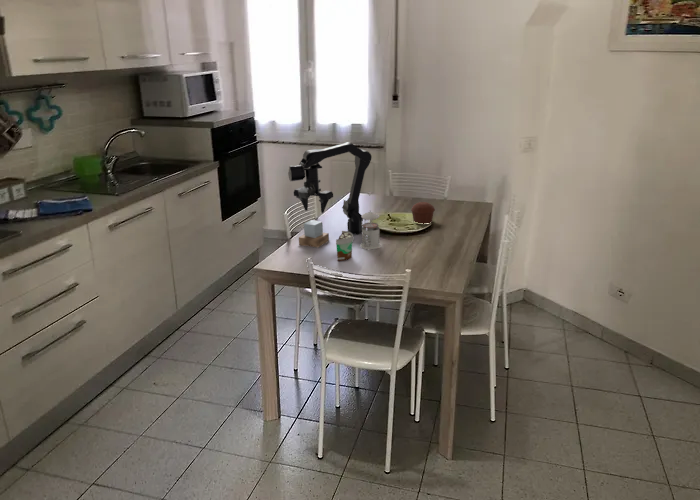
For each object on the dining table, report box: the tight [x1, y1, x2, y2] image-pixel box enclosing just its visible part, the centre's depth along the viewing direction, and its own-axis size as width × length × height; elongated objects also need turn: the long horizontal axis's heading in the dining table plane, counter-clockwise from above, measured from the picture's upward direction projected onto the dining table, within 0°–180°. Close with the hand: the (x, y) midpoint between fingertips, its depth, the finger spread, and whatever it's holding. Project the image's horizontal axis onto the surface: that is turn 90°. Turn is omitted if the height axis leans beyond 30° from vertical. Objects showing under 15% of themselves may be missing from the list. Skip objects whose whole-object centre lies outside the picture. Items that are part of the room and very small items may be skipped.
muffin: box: [410, 201, 436, 224], centre depth 287 cm, size 12×11×10 cm
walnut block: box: [298, 232, 330, 248], centre depth 265 cm, size 10×10×4 cm
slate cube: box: [303, 219, 324, 238], centre depth 263 cm, size 6×6×6 cm
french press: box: [359, 191, 383, 250], centre depth 256 cm, size 10×12×25 cm
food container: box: [335, 230, 355, 262], centre depth 245 cm, size 12×6×10 cm, turn 168°
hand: (314, 211), depth 267 cm, fingers open, 9 cm apart
